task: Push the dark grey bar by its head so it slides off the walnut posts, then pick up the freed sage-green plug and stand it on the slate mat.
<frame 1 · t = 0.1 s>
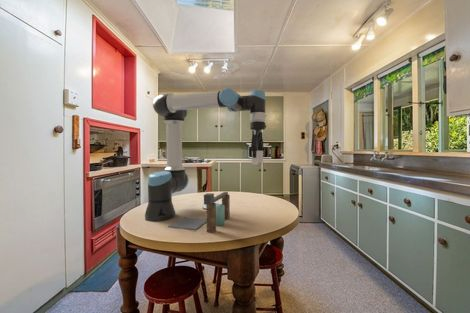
hand: (257, 163, 113), 28 cm above the table, tool pointing down, fingers open, 13 cm apart
plug: (219, 224, 104), on the table
pad: (189, 223, 105), on the table
dark grey bar: (217, 194, 102), point 14 cm above the table, slide at 0.0 cm
tie frame: (219, 224, 104), on the table
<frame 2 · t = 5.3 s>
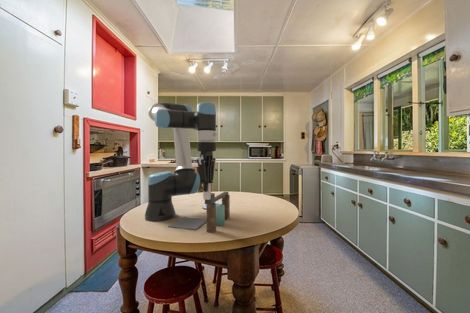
hand: (207, 199, 91), 15 cm above the table, tool pointing down, fingers closed
dark grey bar: (218, 194, 102), point 14 cm above the table, slide at 0.8 cm, touching gripper
everything else where it was.
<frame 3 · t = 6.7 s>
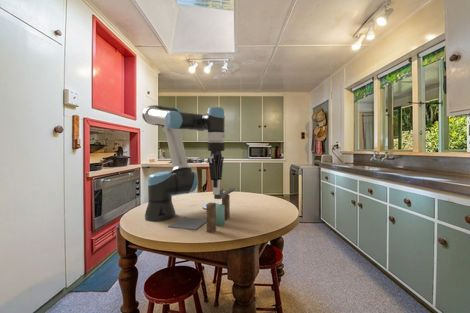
hand: (216, 194, 100), 15 cm above the table, tool pointing down, fingers closed
dark grey bar: (225, 190, 112), point 14 cm above the table, slide at 10.8 cm, touching gripper
everything else where it was.
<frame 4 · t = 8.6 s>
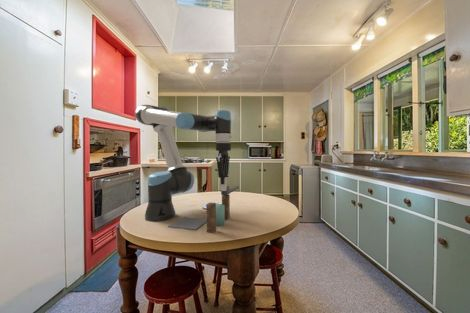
hand: (223, 190, 109), 15 cm above the table, tool pointing down, fingers closed
dark grey bar: (231, 187, 120), point 14 cm above the table, slide at 19.6 cm, touching gripper
everything else where it was.
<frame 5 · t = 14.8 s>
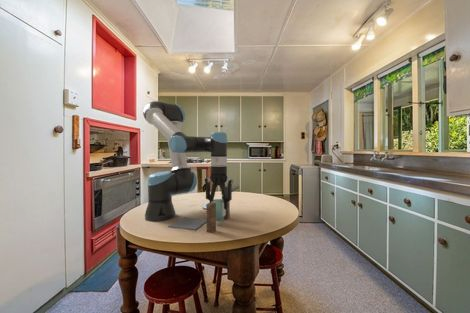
hand: (218, 214, 104), 4 cm above the table, tool pointing down, fingers closed on plug, 5 cm apart
plug: (218, 219, 104), point 2 cm above the table, touching gripper
dark grey bar: (231, 187, 120), point 14 cm above the table, slide at 19.9 cm
when the fingers open (2 cm above the table, at t = 20.0 s): plug stays where it is, resting on pad.
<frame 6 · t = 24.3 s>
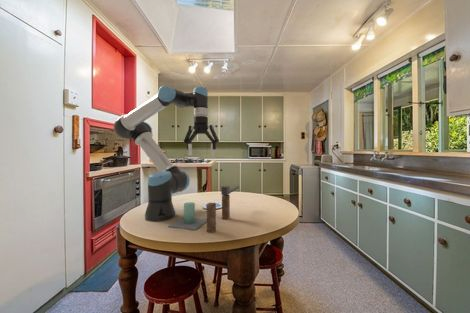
hand: (201, 155, 121), 32 cm above the table, tool pointing down, fingers open, 13 cm apart
plug: (189, 222, 105), resting on pad
everything else where it was.
at the end: dark grey bar slide at 19.9 cm; plug inside the target area on the pad (0.0 cm from its centre), point 0.5 cm above the pad's base; plug tilted 0° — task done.
